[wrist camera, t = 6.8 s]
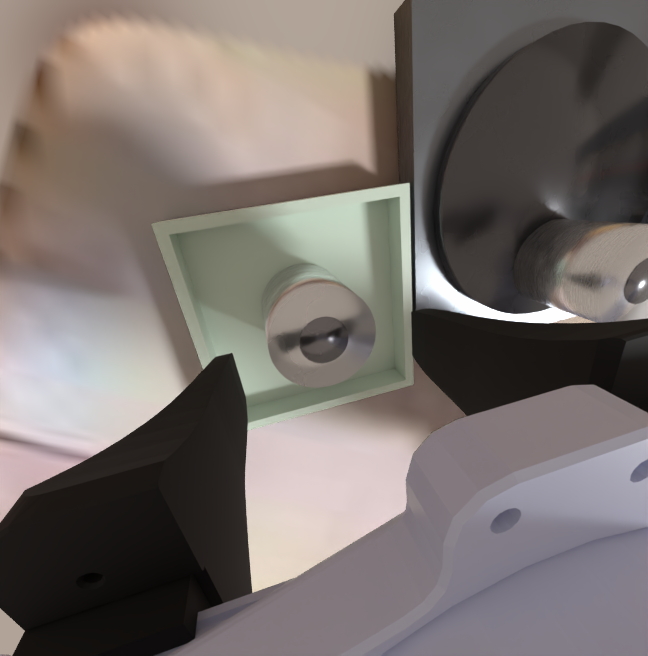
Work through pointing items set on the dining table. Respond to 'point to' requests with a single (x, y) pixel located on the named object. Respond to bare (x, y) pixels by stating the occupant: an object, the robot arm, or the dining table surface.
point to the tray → (281, 252)
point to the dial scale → (515, 136)
